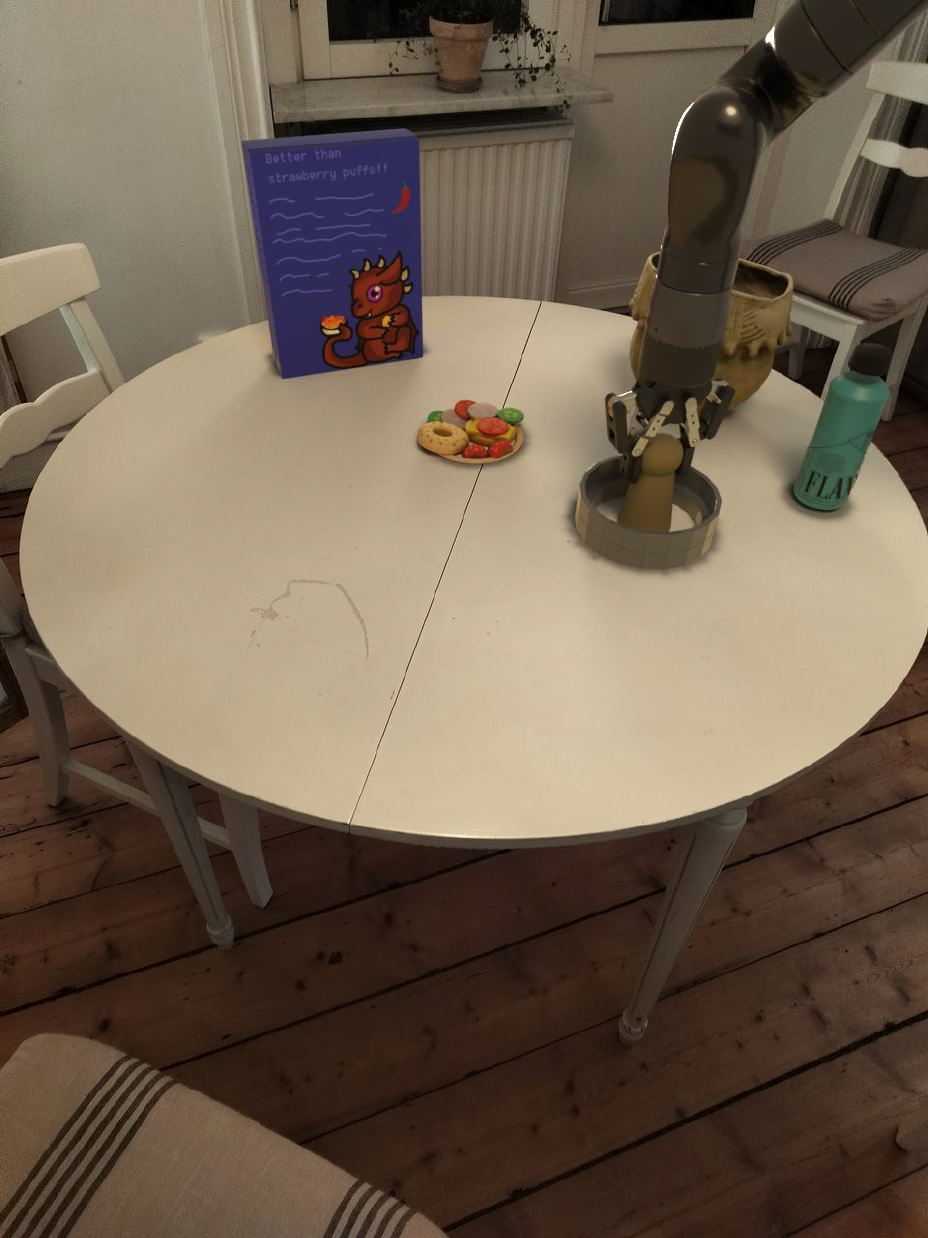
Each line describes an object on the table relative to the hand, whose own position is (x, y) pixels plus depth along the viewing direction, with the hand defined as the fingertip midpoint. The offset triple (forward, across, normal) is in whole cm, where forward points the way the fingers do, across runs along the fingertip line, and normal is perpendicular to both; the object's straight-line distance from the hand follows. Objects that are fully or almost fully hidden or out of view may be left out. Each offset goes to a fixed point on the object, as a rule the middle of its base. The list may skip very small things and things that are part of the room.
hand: (654, 475), depth 91 cm
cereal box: (+8, -24, +52) cm, 57 cm away
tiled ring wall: (+8, 0, 0) cm, 8 cm away
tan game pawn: (+7, 0, 0) cm, 7 cm away
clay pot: (+8, +19, +25) cm, 32 cm away
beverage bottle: (+8, +23, -1) cm, 24 cm away
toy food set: (+8, -13, +24) cm, 28 cm away
